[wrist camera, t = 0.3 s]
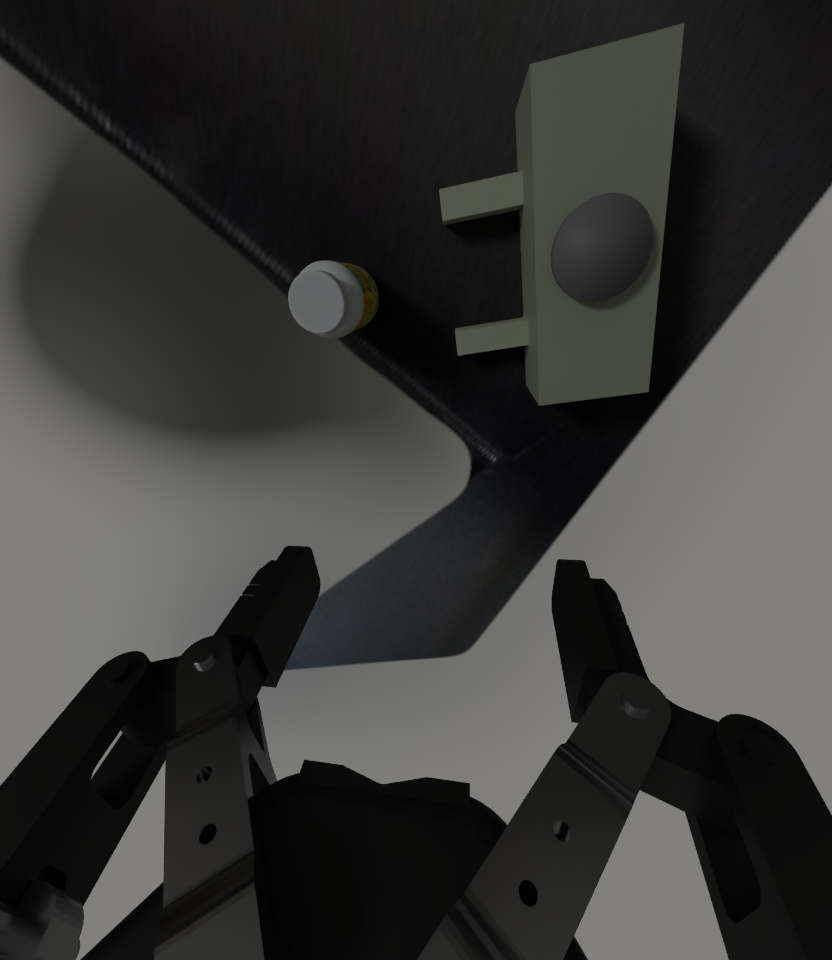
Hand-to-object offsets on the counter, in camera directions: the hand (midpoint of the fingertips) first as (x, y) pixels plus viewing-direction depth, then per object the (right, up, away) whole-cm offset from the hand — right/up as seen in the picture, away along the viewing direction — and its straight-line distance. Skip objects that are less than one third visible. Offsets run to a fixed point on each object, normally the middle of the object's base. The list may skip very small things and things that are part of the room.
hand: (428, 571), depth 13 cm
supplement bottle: (-6, +20, +23) cm, 31 cm away
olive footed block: (+9, +21, +20) cm, 30 cm away
